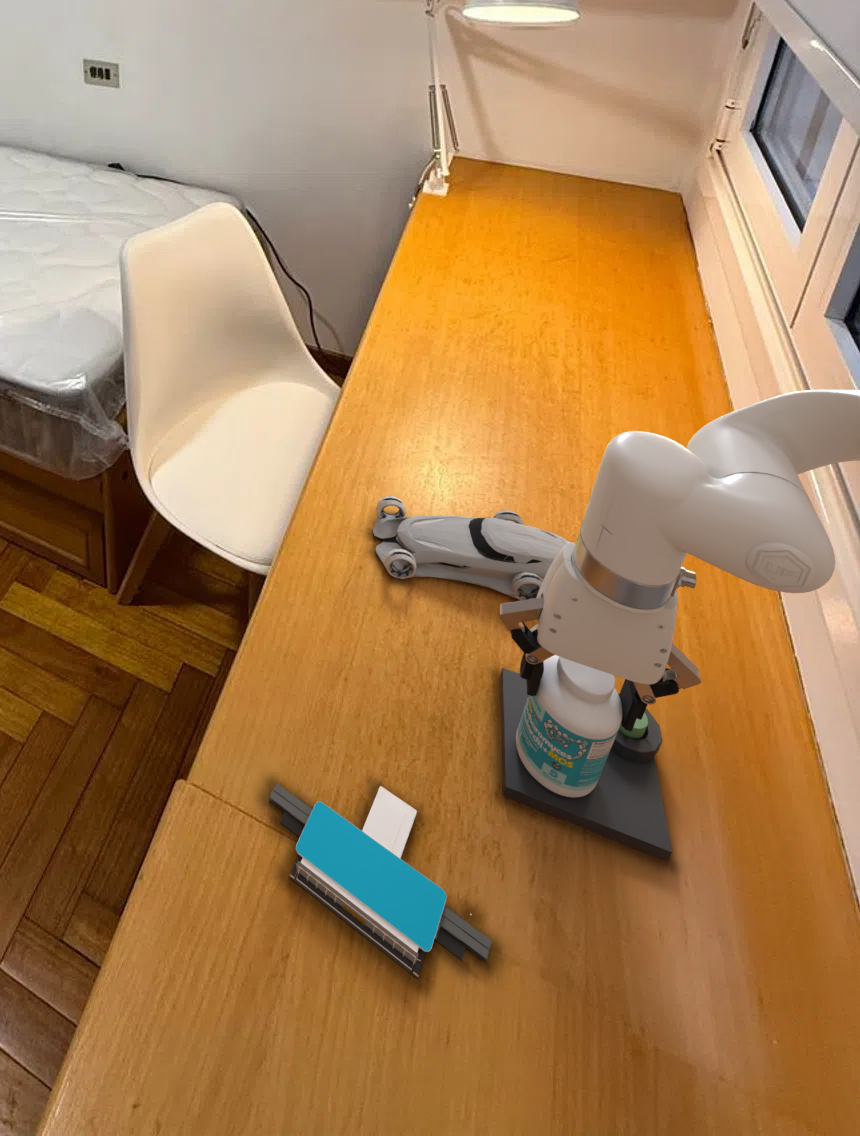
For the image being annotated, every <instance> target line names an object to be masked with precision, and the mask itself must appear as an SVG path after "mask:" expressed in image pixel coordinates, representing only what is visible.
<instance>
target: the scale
mask: <svg viewBox="0 0 860 1136" xmlns="http://www.w3.org/2000/svg"><path fill="white" fill-rule="evenodd" d="M499 687H500V689H499V690H500V727H501V728H500V729H501V731H500V732H501V763H502V764H501V767H502V768H501V769H502V772H501V773H502V796H504V797H505V798H509V799H511V800H513V801H516V802H518V803H521V804H523V805H526V806H529V807H531V808H533V809H536V810H538V811H541V812H543V813H546V814H548V815H551V816H553V817H556V818H558V819H561V820H563V821H566V822H568V823H571V824H573V825H575V826H578V827H581V828H584V829H587V830H588V831H592V832H593V833H596V834H598V835H600V836H603V837H605V838H609V839H611V840H613V841H616V842H618V843H620V844H622V845H626V846H628V847H630V848H633V849H636V850H638V851H641V852H644V853H646V854H648V855H651V856H653V857H656V858H658V859H661V860H663V861H666V862H669V861H670V859H671V857H672V855H673V849H672V843H671V838H670V832H669V827H668V821H667V816H666V810H665V805H664V800H663V794H662V788H661V784H660V778H659V773H658V767H657V762H656V756H657V754H658V753H659V750H660V747H661V746H662V744H663V737H662V736H663V735H662V731H661V727H660V724H659V723H658V721H657V720H656V719H655V717H654V716H653V714H652V713H651V712H650V710H648V708H646V710H645V712H644V713H645V714H646V716H647V719H648V725H647V728H646V730H645V733H644V735H643V736H642V737H641V738H638V739H633V738H630V737H627V736H625V735H624V734H622V733H621V732H620V731H619V730H618V732H617V735H616V737H615V740H614V742H613V745H612V747H611V750H610V752H609V755H608V757H607V760H606V762H605V765H604V767H603V770H602V772H601V775H600V777H599V780H598V782H597V784H596V786H595V788H594V789H593V790H592V791H591V792H590V793H589V794H587V795H585V796H582V797H575V798H574V797H566V796H562V795H559V794H557V793H554V792H552V791H551V790H549V789H547V788H546V787H544V786H543V785H542V784H540V783H539V782H538V781H537V780H536V779H535V778H534V777H533V776H532V775H531V774H530V773H529V771H528V770H527V769H526V767H525V766H524V764H523V762H522V761H521V759H520V756H519V754H518V750H517V746H516V733H517V729H518V726H519V723H520V720H521V717H522V714H523V711H524V708H525V705H526V701H527V698H528V695H527V684H526V679H523V678H521V677H520V672H519V673H518V672H516V671H513V670H510V669H507V668H504V667H502V668H501V672H500V675H499ZM619 694H620V693H618V695H619Z"/></svg>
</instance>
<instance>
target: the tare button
mask: <svg viewBox="0 0 860 1136" xmlns="http://www.w3.org/2000/svg"><path fill="white" fill-rule="evenodd" d="M647 725H648V719H647V716H646V714H645V713H644V715H643V717H642V719H641V720H640V719H636V722H635V724H634V727H633V729H632V732H630V731H628V730H625V729H624V727H622V723H621V724H620V727H619V731H620V732H621V733H622V734H624V735H625V736H627V737H630V738H633V739H638V738H641V737H642V736H643V735H644V733H645V730H646V728H647Z"/></svg>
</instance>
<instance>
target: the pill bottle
mask: <svg viewBox="0 0 860 1136" xmlns="http://www.w3.org/2000/svg"><path fill="white" fill-rule="evenodd" d="M543 664H544V672H543V675H542V679H541V682H540V685H539V688H538V691H537V694H536V696H534V697H532V696H530V695H528V698H527V701H526V705H525V708H524V711H523V714H522V717H521V720H520V723H519V726H518V729H517V733H516V746H517V750H518V754H519V756H520V759H521V761H522V762H523V764H524V766H525V767H526V769H527V770H528V771H529V773H530V774H531V775H532V776H533V777H534V778H535V779H536V780H537V781H538V782H539V783H540V784H542V785H543V786H544V787H546V788H547V789H549V790H551V791H552V792H554V793H557V794H559V795H562V796H566V797H574V798H575V797H582V796H585V795H587V794H589V793H590V792H591V791H592V790H593V789H594V788H595V786H596V784H597V782H598V780H599V777H600V775H601V772H602V770H603V767H604V765H605V762H606V760H607V757H608V755H609V752H610V750H611V747H612V745H613V742H614V740H615V737H616V735H617V732H618V730H619V727H620V724H621V721H622V716H623V709H622V703H621V700H620V697H619V695H618V694H619V693H618V691H617V689H616V688H615V686H616V679H615V675H612V674H609V673H606V672H603V671H600V670H597V669H594V668H591V667H588V666H585V665H582V664H579V663H576V662H573V661H571V660H568V659H565V658H562V657H560V656H557V655H554V656H552V657H550V658H548V659H546V660H545V661H543Z"/></svg>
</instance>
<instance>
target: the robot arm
mask: <svg viewBox="0 0 860 1136" xmlns="http://www.w3.org/2000/svg"><path fill="white" fill-rule="evenodd" d="M858 461H860V389H807V390H805V389H804V390H797V391H792V392H787V393H782V394H779V395H778V394H777V395H775V396H771V397H769V398H766V399H763V400H760V401H758V402H755V403H752V404H749V405H747V406H744V407H741V408H739V409H736V410H733V411H730V412H728V413H725V414H723V415H721V416H719V417H717V418H715V419H713V420H711V421H710V422H708V423H706V424H704V425H703V426H702V427H701V428H699V430H697V431H696V432H695V433H694V434H693V435H692V437H691V438H690V440H689V441H688V443H687V446H686V447H685V446H684V445H683V444H681V443H679V442H678V441H676V440H673V439H671V438H669V437H667V436H664V435H662V434H658V433H655V432H650V431H645V430H643V431H642V430H630V431H624V432H621V433H619V434H617V435H615V436H614V437H613V438H612V439H611V440H609V442H608V444H607V445H606V447H605V450H604V453H603V455H602V459H601V461H600V465H599V468H598V470H597V474H596V478H595V480H594V484H593V487H592V490H591V493H590V497H589V499H588V502H587V505H586V509H585V512H584V515H583V519H582V521H581V525H580V528H579V531H578V534H577V537H576V541H575V542H572V541H571V542H570V541H569V542H568V543H566V544H565V545H564V546H563V548H562V549H561V550H560V551H559V553H558V554H557V556H556V557H555V559H554V560H553V562H552V564H551V566H550V568H549V569H548V571H547V573H546V576H545V578H544V580H543V582H542V584H541V587H540V589H539V592H538V594H537V597H536V598H534V599H528V600H516V601H515V600H514V601H509V602H503V603H500V604H499V618H500V620H501V622H502V624H503V625H504V626H505V628H506V630H507V631H508V632H509V634H511V635H510V636H511V639H512V641H513V642H514V643H515V644H516V645H517V646H518V648H519V649H520V650H521V652H523V654H522V657H521V660H520V666H519V674H520V677H521V678H523V679H526V684H527V695H530V696H532V697H534V696H536V694H537V691H538V688H539V685H540V682H541V679H542V675H543V672H544V664H543V661H545V660H546V659H548V658H550V657H552V656H555V655H557V656H560V657H562V658H565V659H568V660H571V661H573V662H576V663H579V664H582V665H585V666H588V667H591V668H594V669H597V670H600V671H603V672H606V673H609V674H612V675H614V677H618V678H621V679H624V681H623V684H622V686H621V689H620V692H619V693H618V694H619V697H620V700H621V703H622V709H623V716H622V721H621V723H622V727H624V729H625V730H628V731H630V732H632V729H633V727H634V724H635V722H636V719H640V720H641V719H642V717H643V715H644V712H645V710H646V709H647V707H648V705H651V706H652V705H654V704H656V703H657V698H663V697H668V696H674V695H677V694H678V693H679V692H680V690H681V689H682V690H686V689H689V688H692V687H696V686H698V685H700V684H701V683H702V679H701V675H700V671H699V668H698V666H697V665H696V664H694V662H692V661H691V659H689V657H688V656H686V655H685V654H684V653H683V652H682V651H681V650H680V649H679V648H678V647H677V646H676V645H675V644H674V643H673V642H674V636H675V632H676V631H675V630H676V626H677V625H676V623H677V617H678V616H677V615H678V593H677V589H679V588H681V587H682V588H685V587H687V588H690V589H695V587H696V586H697V574H696V572H695V571H692V570H689V569H686V568H685V567H684V566H683V564H684V562H685V559H686V556H687V554H688V555H691V556H692V557H695V558H696V559H699V560H701V561H703V562H705V563H707V564H709V565H711V566H713V567H715V568H717V569H720V570H722V571H723V572H726V573H728V574H730V575H732V576H734V577H736V578H738V579H740V580H743V581H745V582H747V583H750V584H752V585H755V586H758V587H761V588H764V589H765V590H769V591H774V592H780V593H784V594H785V593H786V594H804V593H810V592H813V591H816V590H819V589H821V588H822V587H824V586H825V585H826V584H827V583H828V582H830V580H831V579H832V577H833V574H834V573H835V567H836V557H835V552H834V551H835V550H834V548H833V544H832V542H831V539H830V537H829V535H828V533H827V530H826V529H825V527H824V525H823V523H822V521H821V518H820V517H819V515H818V513H817V511H816V509H815V507H814V505H813V502H812V501H811V499H810V497H809V494H808V493H807V490H806V489H805V487H804V485H803V483H802V481H801V479H800V477H799V475H800V474H804V473H807V472H809V471H813V470H816V469H819V468H823V467H825V466H830V465H833V464H838V463H839V464H840V463H846V462H858ZM537 620H538V623H537V624H535V625H534V626H532V627H531V628H529V626H527V624H526V623H525V622H531V621H537ZM667 666H669V667H667Z"/></svg>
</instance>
